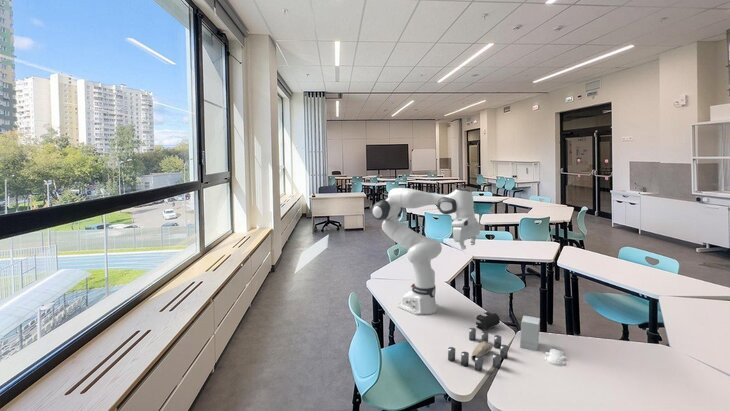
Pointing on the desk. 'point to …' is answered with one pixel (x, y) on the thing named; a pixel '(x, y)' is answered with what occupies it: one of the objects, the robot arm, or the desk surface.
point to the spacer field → (479, 359)
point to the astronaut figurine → (555, 357)
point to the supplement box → (530, 332)
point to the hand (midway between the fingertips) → (468, 247)
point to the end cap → (487, 321)
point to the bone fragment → (481, 349)
